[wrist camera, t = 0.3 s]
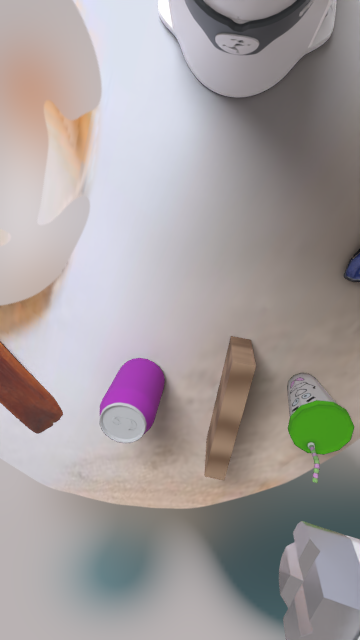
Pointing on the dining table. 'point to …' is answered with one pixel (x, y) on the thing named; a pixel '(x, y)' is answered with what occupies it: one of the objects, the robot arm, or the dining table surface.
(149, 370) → the beverage can
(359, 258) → the snack package
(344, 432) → the cup
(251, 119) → the dining table surface
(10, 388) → the wooden tablet
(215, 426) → the board
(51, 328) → the dining table surface
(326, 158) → the dining table surface
